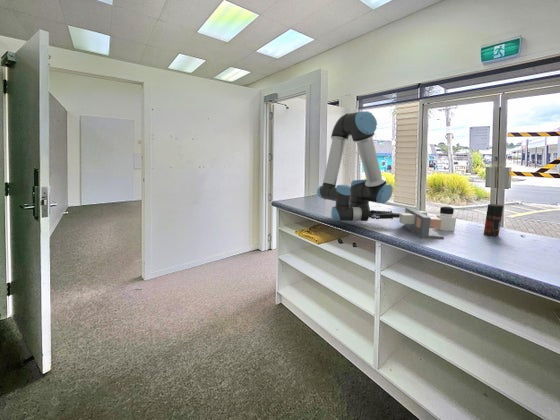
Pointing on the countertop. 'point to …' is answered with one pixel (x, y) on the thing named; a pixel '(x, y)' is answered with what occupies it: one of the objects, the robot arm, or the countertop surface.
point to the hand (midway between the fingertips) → (404, 215)
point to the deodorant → (493, 220)
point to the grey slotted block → (422, 226)
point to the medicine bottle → (447, 219)
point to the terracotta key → (434, 222)
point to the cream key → (407, 218)
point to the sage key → (419, 211)
